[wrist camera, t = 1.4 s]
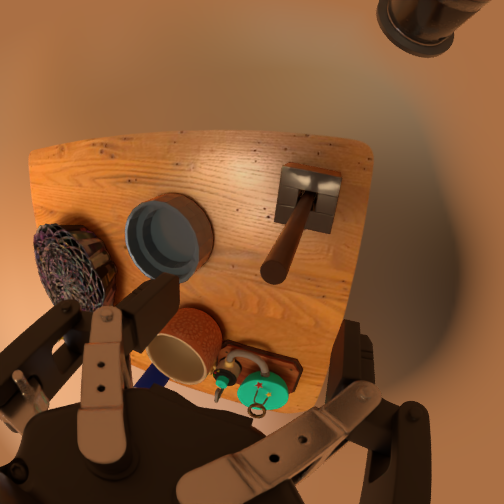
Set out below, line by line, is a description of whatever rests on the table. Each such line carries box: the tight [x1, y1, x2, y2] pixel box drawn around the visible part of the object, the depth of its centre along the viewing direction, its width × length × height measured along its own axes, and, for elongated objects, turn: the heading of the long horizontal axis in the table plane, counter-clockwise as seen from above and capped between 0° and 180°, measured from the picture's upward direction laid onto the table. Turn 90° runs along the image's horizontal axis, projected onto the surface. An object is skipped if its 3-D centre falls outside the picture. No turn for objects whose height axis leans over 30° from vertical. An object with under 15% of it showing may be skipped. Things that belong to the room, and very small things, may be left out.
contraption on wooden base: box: [209, 340, 303, 418], centre depth 49 cm, size 14×18×15 cm
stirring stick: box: [260, 190, 316, 285], centre depth 28 cm, size 2×2×26 cm
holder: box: [274, 162, 342, 234], centre depth 37 cm, size 7×7×6 cm
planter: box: [146, 308, 222, 385], centre depth 51 cm, size 12×12×11 cm
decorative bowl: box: [33, 223, 117, 312], centre depth 56 cm, size 26×28×10 cm
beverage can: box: [133, 363, 170, 389], centre depth 56 cm, size 5×5×15 cm
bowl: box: [125, 193, 213, 284], centre depth 46 cm, size 14×14×6 cm
